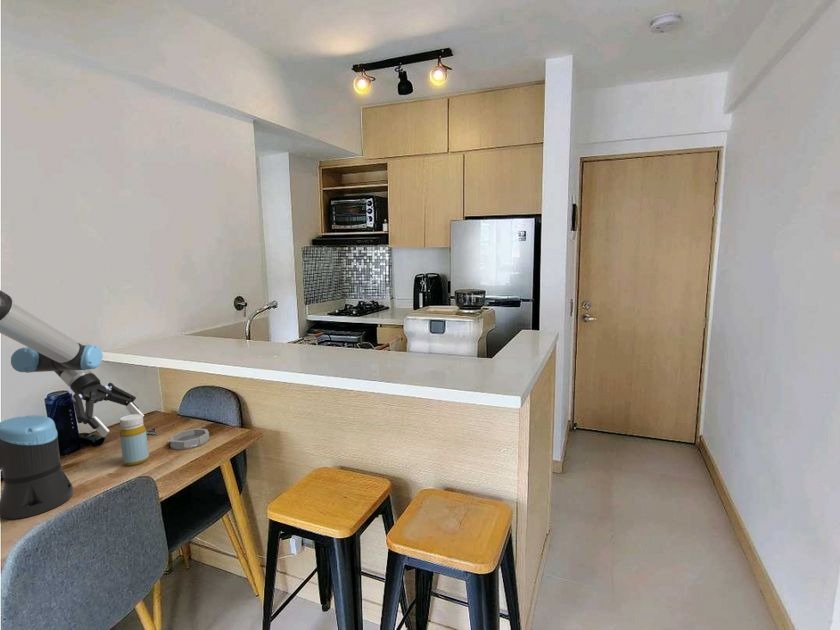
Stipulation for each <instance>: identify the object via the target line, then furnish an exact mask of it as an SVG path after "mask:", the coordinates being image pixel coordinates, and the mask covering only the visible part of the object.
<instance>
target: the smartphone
mask: <svg viewBox="0 0 840 630" xmlns="http://www.w3.org/2000/svg"><path fill="white" fill-rule="evenodd" d="M157 427H158V426H156V427H154V428H152V429H150V430H146V435H147V436H154V435H156V432H155V428H157ZM156 436H157V435H156Z"/></svg>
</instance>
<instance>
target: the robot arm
mask: <svg viewBox="0 0 840 630" xmlns="http://www.w3.org/2000/svg"><path fill="white" fill-rule="evenodd" d="M0 334H2V335H3V336H5V337H8V338H9V339H11V340H13V341H16V342H18V343H19V344H21V345H23V346H26V347H21V348H18V349H16V350H15V351H14V352H13V353H12V355H11V357H10V366H11V367H12V368H13V370H15V371H17V372H19V373H28V374H29V373H41V372H43V373H44V372H54V373H55V374H56V375H57V376H58V377H59V378H60V379H61V380H62V381H63V382H64V384H65V385H67V387H69V388H70V390H71V391H72V392H73V393H74V394H73V395H72V397H70V399H69V400H70V402H71V403H72V404H73V408H74V413H75V417H76V421H77V423H78V424H84V425H87V424H88V425H89V427H90V428H91V429H93V430H96V431H97V432H98V433H99V434H100V435H101V437H102V438H105V437H106V436H107V435H108V434H109V433H110V429H109V428H108V427H107V426H105V424H104V423H103V422H102V421H101V419H100V418H98V417H97V416H96V415H95V416H94V405H95V404H97V403H98V402H103V401H104V402H105V401H109V402H112V403H115V404H119V405H122V406H125V410H127V411H128V413H130V415H132V414H142V415H143V418H144V417H145V415H144V414H143V413H142V411H141V410H140V409H139V407H138V406H137V404H136V403H134V401H136V399H137V397H136V396H134V395H132V394H131V393H129V392H127V391H125V390H123V389H121V388H119V387H117V386H116V385H114V383H112V382H108V383H107V385H103V384H102V383H101V379H99V378H98V376H97V375H96V374H95V373H93V371H92V370H95V369H97V368H98V367H99V366H101V363H102V360H103V352H102V349H101V348H100V347H99V346H97V345H94V344H93V345H92V344H86V345H85V344H82V343H80V342H78V341H76V340H75V339H73V338H72V337H70V336H68V335H66V334H65V333H63V332H61V331H59V330H58V329H56V328H55V327H53V326H52V325H50V324H48V323H47V322H45V321H44V320H42V319H41V318H38V317H37V316H36V315H34V314H32V313H30V312H28V311H27V310H25V309H24V308H22V307H21V306H18V305H17V304H15V303H14V300H13V298H12V297H11V296H10V295H9V294H7V293H6V292H4V291H2V290H1V289H0ZM83 401H85V403H84V402H83ZM83 403H84V404H85V407H84V404H83ZM58 434H59V433H58V430H57V428H56V423H55V421H54V420H53V419H52V418H51V417H48V416H45V415H35V414H34V415H25V416H16V417H11V418H8V419H4V420H2V421H1V422H0V470H1V473H2V478H3V488H2V492H1V497H0V518H1V519H6V520H17V519H24V518H28V517H33V516H37V515H40V514H42V513H43V514H44V513H46V512H48V511H51V510H53V509H56V508H57V507H59V506H61V505H63V504H65V503H67V502H68V501H69V500H70V499H72V497H73V495H74V488H73V484H72V483H71V481H70V479H69V478H68V476H67V475H66V473H65V472H64V470H63V468H62V462H61V454H60V453H61V452H60V445H59V438H58V436H59V435H58Z"/></svg>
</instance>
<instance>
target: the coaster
mask: <svg viewBox="0 0 840 630" xmlns="http://www.w3.org/2000/svg"><path fill="white" fill-rule="evenodd" d="M209 441H210V432H209V430H208V429H207V428H195V427H194V428H191V429H185V430H182V431H181V430H180V431H179V432H177V433H175V434H173V435H171V436H169V442H170V444H169V446H170V447H169V448H170V449H172V450H174V451H175V450H176V451H183V450H185V449H186V450H190V449H195V448H198V447H201V446H203V445H205V444H207V443H209ZM206 442H207V443H206ZM186 450H185V451H186Z"/></svg>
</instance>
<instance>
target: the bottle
mask: <svg viewBox="0 0 840 630" xmlns="http://www.w3.org/2000/svg"><path fill="white" fill-rule="evenodd" d="M142 414H143V413H142ZM142 414H128V415H124V416H123V417H120V418H119V424H120V432H119V439H120V445H121V447H120V448H121V454H122V461H123V464H124V465H126V466H129V467H132V466H137V465H142V464H143V463H146V462H147V461H148V460H149V457H150V454H149V445H148V437H147V436H148V435H146V432H147V429H146V427H145V425H144V417H143V415H144V414H143V415H142Z"/></svg>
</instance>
